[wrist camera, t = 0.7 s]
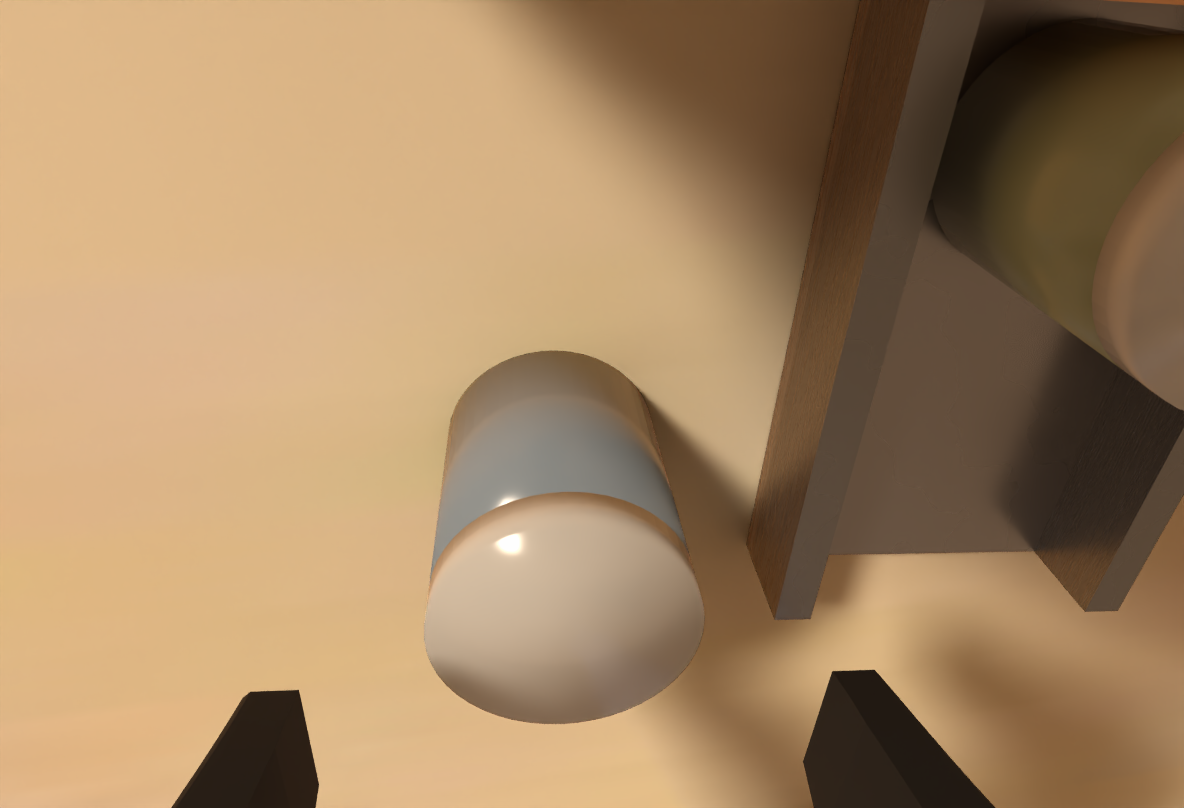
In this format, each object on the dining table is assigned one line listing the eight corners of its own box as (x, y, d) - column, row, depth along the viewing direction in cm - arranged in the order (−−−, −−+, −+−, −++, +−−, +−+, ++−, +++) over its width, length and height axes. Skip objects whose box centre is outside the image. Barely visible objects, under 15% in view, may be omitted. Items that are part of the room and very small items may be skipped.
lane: (1054, 539, 20) (1182, 683, 16) (746, 544, 19) (804, 698, 15) (1539, -474, 10) (2114, -700, 7) (975, -553, 10) (1270, -857, 6)
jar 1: (666, 496, 18) (719, 693, 13) (481, 537, 18) (470, 746, 13) (632, 329, 16) (684, 497, 11) (420, 377, 16) (383, 563, 11)
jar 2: (1153, 241, 15) (1435, 378, 10) (929, 291, 15) (1108, 449, 11) (1201, -11, 13) (1590, 24, 8) (935, 52, 13) (1169, 122, 8)
